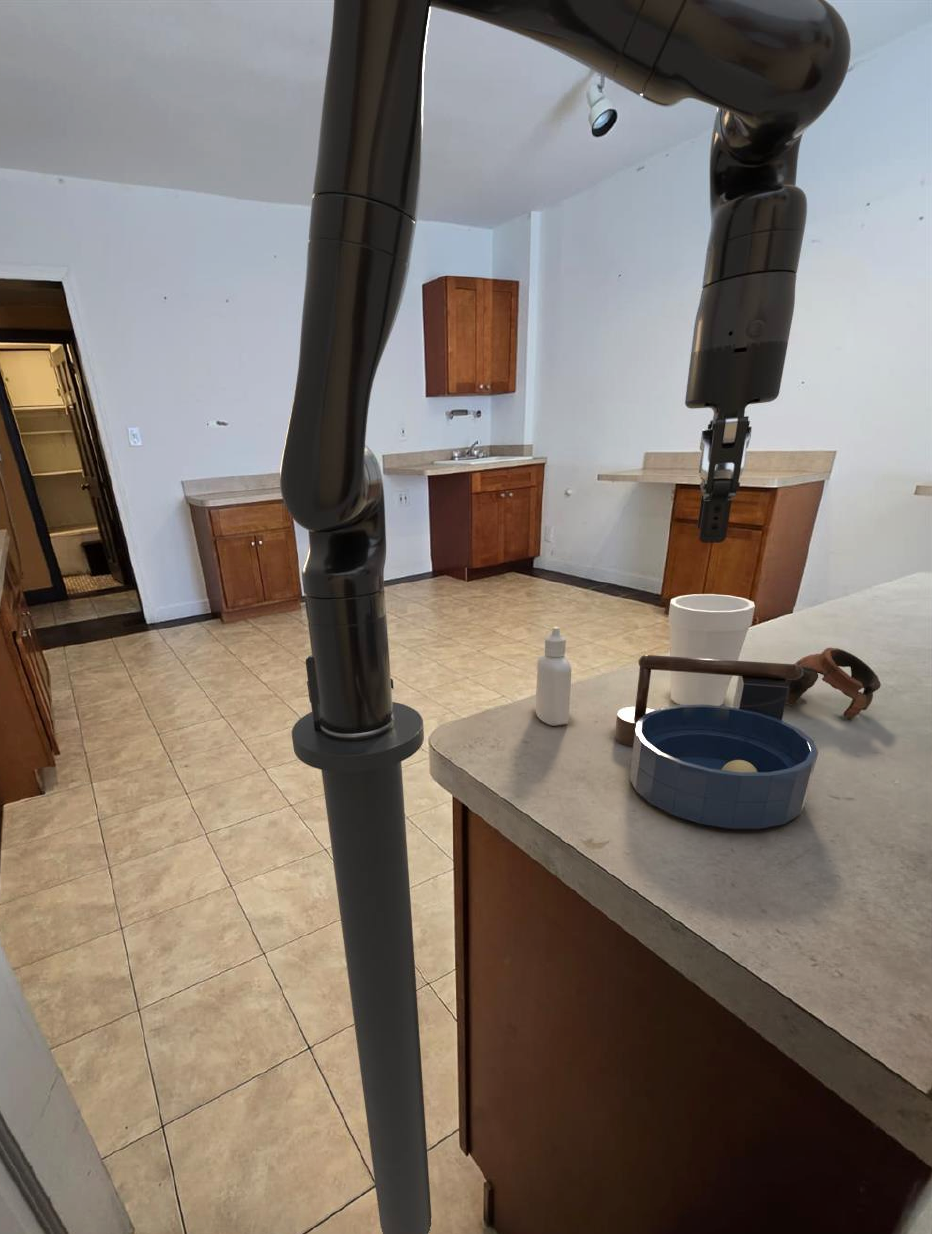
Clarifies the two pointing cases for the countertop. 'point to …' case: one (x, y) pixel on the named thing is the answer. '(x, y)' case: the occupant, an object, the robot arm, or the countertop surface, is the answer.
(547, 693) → the eye dropper bottle
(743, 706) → the dark navy cube
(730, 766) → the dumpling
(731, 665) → the ladle
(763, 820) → the bowl
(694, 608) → the foam cup
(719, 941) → the countertop surface
